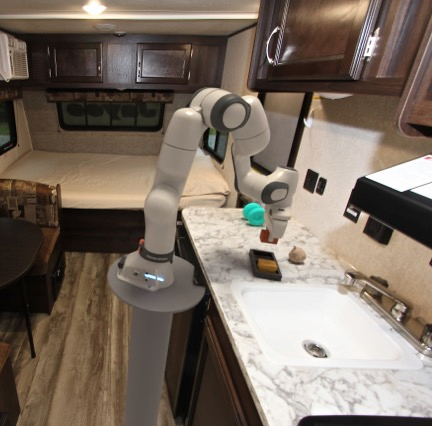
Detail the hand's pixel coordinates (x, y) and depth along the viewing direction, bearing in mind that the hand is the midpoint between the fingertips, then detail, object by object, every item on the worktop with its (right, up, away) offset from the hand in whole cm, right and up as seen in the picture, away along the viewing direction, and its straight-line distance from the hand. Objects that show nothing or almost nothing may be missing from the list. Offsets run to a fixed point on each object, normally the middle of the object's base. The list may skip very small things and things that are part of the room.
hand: (268, 237), depth 120 cm
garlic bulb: (+14, -11, +6) cm, 19 cm away
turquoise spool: (+12, +5, +39) cm, 42 cm away
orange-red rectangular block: (0, -1, +1) cm, 2 cm away
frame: (-2, -12, +1) cm, 12 cm away
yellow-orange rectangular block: (-3, -13, -3) cm, 14 cm away
